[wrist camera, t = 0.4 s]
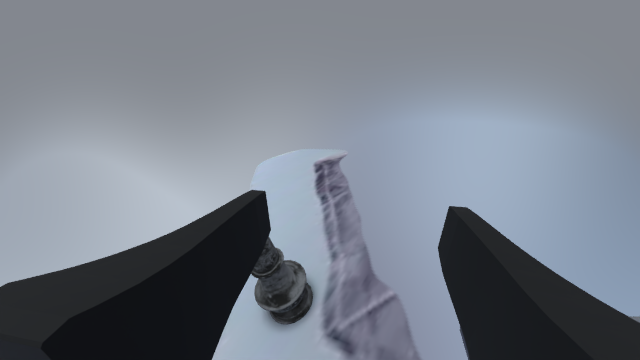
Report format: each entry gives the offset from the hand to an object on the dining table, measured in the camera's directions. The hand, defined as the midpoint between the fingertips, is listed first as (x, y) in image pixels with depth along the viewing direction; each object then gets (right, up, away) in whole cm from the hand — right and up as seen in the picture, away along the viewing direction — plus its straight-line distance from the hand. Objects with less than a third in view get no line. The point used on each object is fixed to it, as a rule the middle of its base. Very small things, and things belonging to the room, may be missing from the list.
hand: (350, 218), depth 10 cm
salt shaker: (-5, -13, +19) cm, 24 cm away
